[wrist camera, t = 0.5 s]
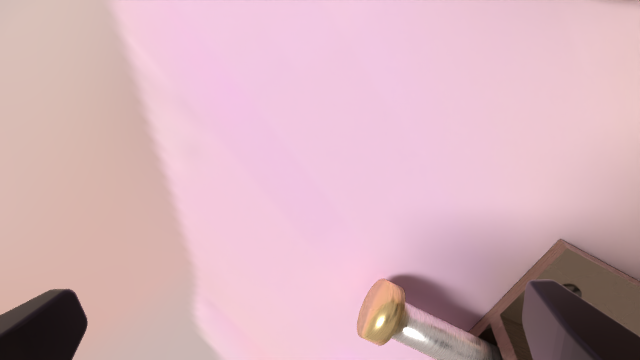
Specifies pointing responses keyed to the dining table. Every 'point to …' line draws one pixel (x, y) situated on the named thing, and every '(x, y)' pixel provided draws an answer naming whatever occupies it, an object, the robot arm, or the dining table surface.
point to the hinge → (577, 276)
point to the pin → (416, 327)
